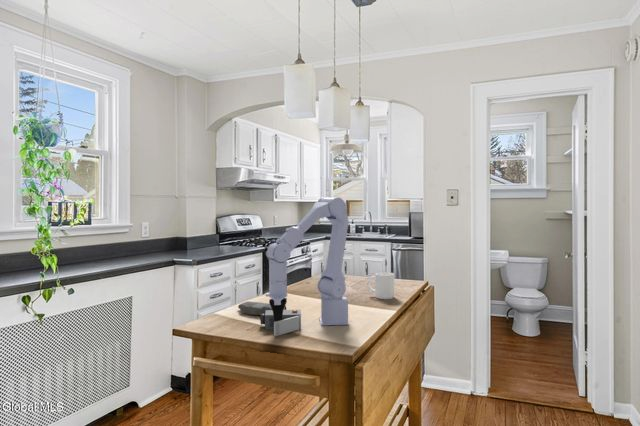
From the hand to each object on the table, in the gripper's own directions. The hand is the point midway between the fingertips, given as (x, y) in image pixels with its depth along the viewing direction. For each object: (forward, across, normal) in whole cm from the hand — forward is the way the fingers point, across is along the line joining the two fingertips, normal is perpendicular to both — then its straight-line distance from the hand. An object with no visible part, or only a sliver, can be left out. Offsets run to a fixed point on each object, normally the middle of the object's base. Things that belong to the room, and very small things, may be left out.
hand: (278, 321), depth 142 cm
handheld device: (+4, -23, -8) cm, 24 cm away
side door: (+3, +2, +3) cm, 5 cm away
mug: (+4, -44, +44) cm, 62 cm away
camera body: (+4, -6, +2) cm, 7 cm away
